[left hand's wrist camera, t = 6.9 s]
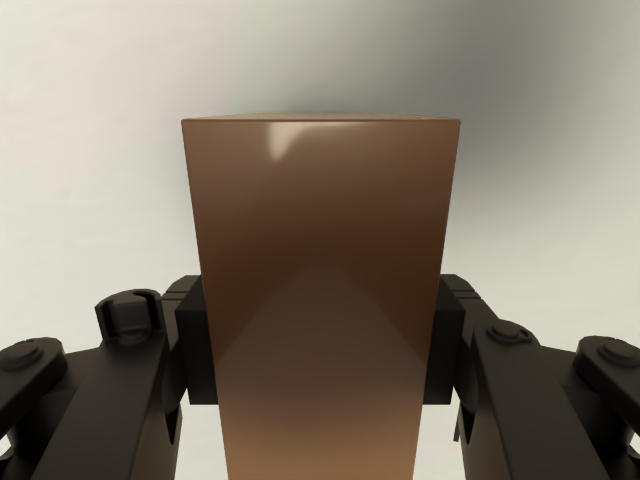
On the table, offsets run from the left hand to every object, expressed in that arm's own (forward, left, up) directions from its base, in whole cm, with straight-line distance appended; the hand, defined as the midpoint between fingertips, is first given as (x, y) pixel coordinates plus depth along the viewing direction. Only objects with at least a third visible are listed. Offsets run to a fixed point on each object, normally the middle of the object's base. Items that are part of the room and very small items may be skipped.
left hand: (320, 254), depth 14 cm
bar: (+23, +26, -1) cm, 35 cm away
